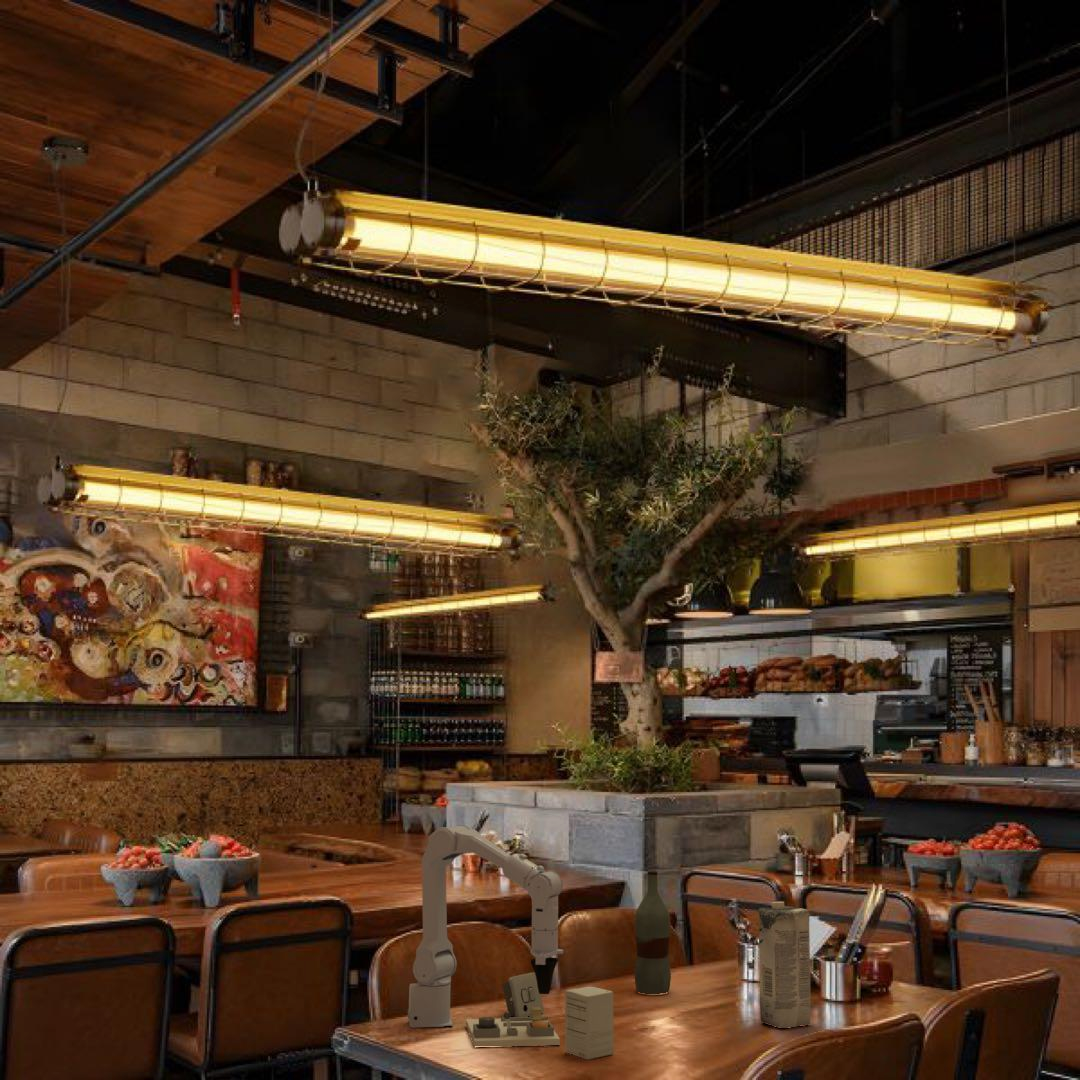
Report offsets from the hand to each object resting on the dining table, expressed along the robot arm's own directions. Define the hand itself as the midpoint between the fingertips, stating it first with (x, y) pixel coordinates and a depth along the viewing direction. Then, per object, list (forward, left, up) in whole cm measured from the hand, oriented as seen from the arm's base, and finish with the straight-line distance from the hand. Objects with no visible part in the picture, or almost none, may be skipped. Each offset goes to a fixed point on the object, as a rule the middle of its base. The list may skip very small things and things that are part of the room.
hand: (544, 993), depth 291 cm
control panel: (-7, +3, -9) cm, 12 cm away
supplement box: (+7, -14, -10) cm, 18 cm away
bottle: (+34, +45, -10) cm, 58 cm away
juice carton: (+56, +7, -10) cm, 58 cm away
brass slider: (-1, +8, -8) cm, 11 cm away
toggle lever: (-7, -2, -8) cm, 11 cm away
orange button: (-1, -2, -7) cm, 8 cm away
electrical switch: (-2, +23, -10) cm, 25 cm away
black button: (-13, -2, -6) cm, 14 cm away
